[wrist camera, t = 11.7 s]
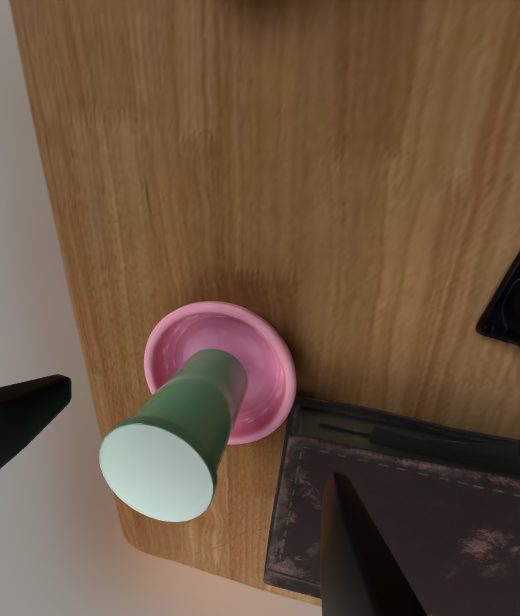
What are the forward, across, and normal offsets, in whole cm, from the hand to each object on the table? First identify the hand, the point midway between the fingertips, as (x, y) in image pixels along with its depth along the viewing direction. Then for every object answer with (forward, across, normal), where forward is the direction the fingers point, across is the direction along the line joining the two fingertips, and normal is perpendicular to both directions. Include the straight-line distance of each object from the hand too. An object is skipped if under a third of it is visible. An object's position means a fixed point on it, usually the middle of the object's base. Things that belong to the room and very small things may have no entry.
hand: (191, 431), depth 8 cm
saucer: (+13, +2, +5) cm, 14 cm away
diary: (+13, -18, +13) cm, 26 cm away
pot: (+10, +2, +5) cm, 11 cm away
